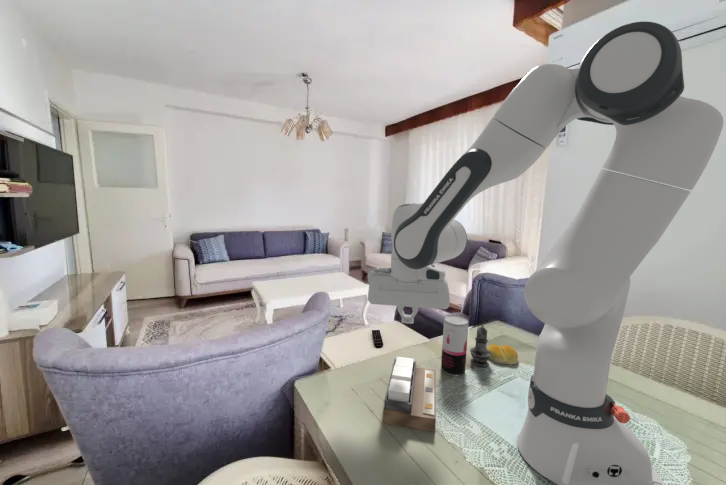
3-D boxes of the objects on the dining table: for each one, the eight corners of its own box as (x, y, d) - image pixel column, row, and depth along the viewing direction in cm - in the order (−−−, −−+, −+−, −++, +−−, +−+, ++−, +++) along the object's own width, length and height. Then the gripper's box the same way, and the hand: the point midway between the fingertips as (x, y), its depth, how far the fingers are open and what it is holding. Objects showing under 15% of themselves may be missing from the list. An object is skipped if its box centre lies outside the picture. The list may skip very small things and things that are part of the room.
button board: (434, 380, 83) (435, 363, 82) (435, 432, 65) (436, 410, 64) (393, 374, 85) (394, 357, 85) (382, 422, 67) (383, 401, 66)
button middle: (411, 377, 77) (412, 367, 76) (410, 387, 72) (410, 377, 72) (394, 374, 78) (394, 365, 77) (391, 384, 73) (392, 374, 73)
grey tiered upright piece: (486, 358, 95) (490, 321, 93) (492, 369, 89) (496, 329, 87) (467, 357, 95) (469, 320, 94) (471, 367, 90) (474, 328, 88)
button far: (413, 367, 83) (413, 358, 82) (412, 376, 78) (412, 367, 78) (396, 365, 84) (397, 356, 83) (394, 374, 79) (395, 365, 79)
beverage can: (470, 373, 87) (473, 322, 84) (451, 378, 84) (454, 326, 82) (454, 362, 93) (457, 314, 90) (436, 366, 90) (439, 317, 88)
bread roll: (483, 350, 100) (484, 338, 100) (513, 354, 99) (514, 342, 98) (488, 363, 92) (489, 351, 92) (520, 367, 91) (522, 355, 90)
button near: (410, 391, 71) (410, 381, 70) (408, 404, 67) (408, 393, 66) (390, 388, 72) (391, 378, 71) (388, 400, 68) (388, 390, 67)
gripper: (365, 269, 76) (364, 323, 78) (451, 273, 72) (449, 331, 73) (370, 264, 82) (370, 314, 84) (450, 268, 78) (448, 321, 79)
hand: (407, 322), depth 79 cm, fingers closed
